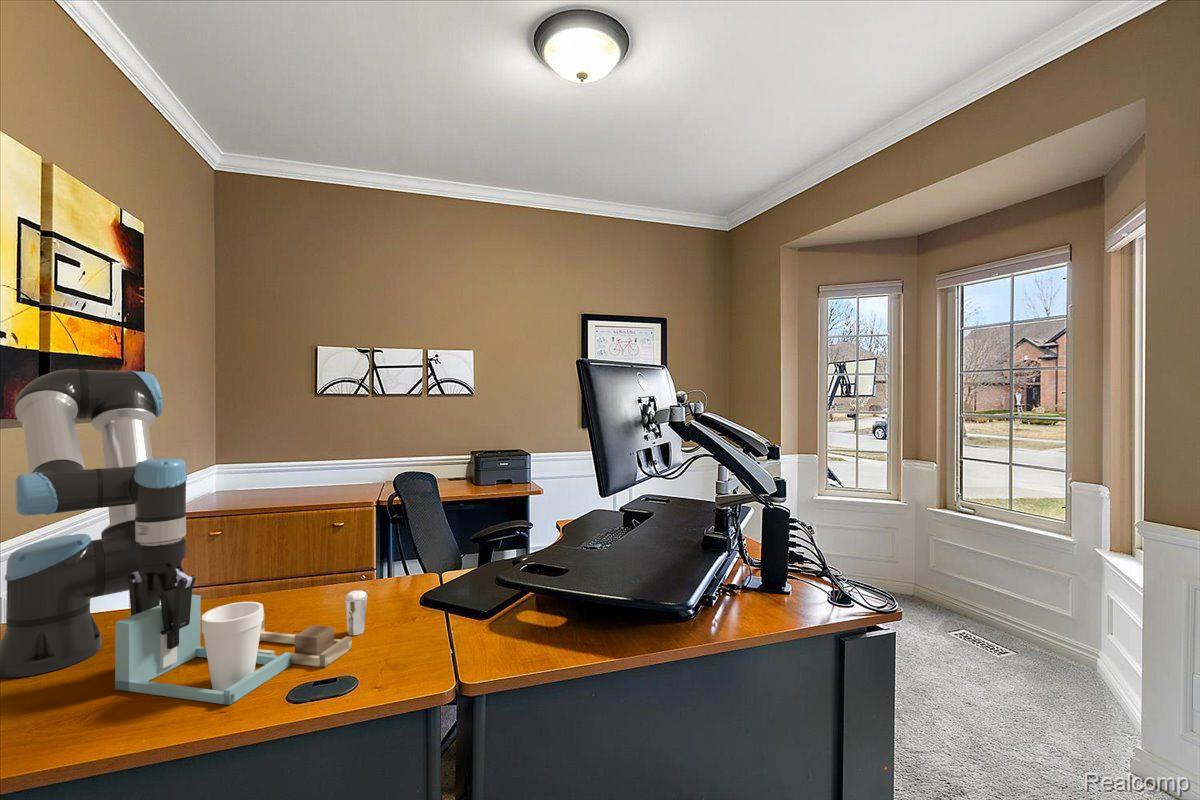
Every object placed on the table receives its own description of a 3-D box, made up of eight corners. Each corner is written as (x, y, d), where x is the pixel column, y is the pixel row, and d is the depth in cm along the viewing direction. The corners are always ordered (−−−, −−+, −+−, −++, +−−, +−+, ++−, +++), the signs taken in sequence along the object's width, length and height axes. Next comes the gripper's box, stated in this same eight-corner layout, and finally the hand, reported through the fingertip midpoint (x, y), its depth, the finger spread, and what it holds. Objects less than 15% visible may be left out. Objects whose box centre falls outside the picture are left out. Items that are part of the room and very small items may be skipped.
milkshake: (361, 638, 117) (362, 592, 117) (340, 636, 118) (340, 590, 118) (374, 629, 121) (375, 585, 121) (353, 627, 122) (353, 583, 122)
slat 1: (219, 654, 109) (220, 625, 109) (252, 637, 116) (252, 609, 116) (271, 660, 106) (271, 630, 106) (301, 642, 114) (301, 614, 114)
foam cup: (190, 687, 97) (190, 615, 97) (244, 664, 105) (245, 598, 105) (219, 701, 92) (219, 626, 92) (273, 676, 101) (274, 607, 100)
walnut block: (294, 660, 107) (294, 635, 107) (312, 648, 112) (312, 625, 112) (316, 663, 106) (316, 638, 106) (333, 651, 111) (334, 627, 111)
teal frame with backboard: (115, 689, 96) (115, 622, 96) (188, 652, 109) (188, 594, 109) (229, 705, 91) (230, 634, 91) (291, 665, 105) (291, 603, 105)
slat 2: (280, 662, 106) (280, 649, 106) (309, 643, 114) (309, 632, 114) (325, 667, 104) (325, 655, 104) (351, 648, 112) (351, 636, 112)
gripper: (104, 543, 100) (104, 668, 100) (177, 548, 97) (177, 678, 97) (145, 533, 107) (145, 650, 107) (214, 538, 104) (214, 658, 104)
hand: (160, 663), depth 102 cm, fingers closed on teal frame with backboard, 3 cm apart
